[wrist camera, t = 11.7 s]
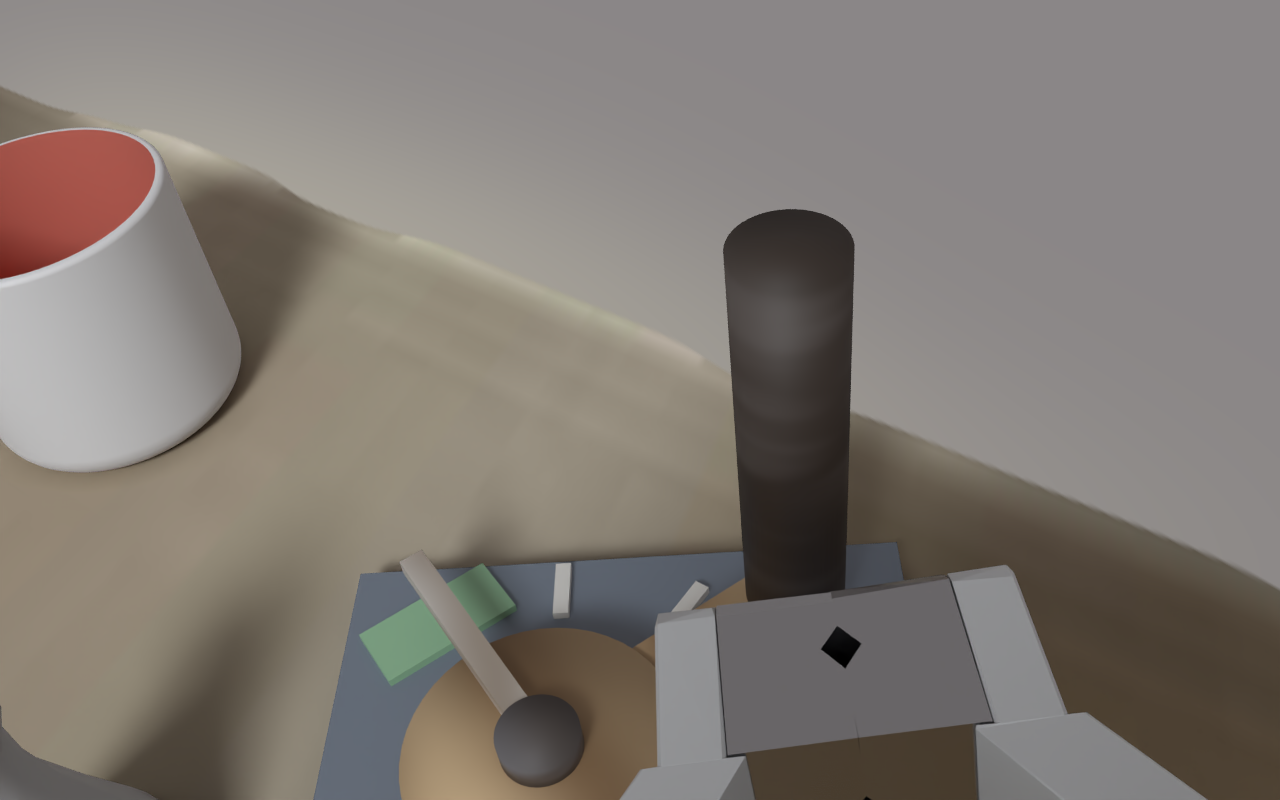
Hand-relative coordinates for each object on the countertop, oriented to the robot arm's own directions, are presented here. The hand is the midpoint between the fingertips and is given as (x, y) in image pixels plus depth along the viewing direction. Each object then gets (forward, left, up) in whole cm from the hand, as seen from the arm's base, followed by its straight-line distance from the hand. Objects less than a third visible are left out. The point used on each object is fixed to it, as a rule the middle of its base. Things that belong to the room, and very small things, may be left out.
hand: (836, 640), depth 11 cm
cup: (-26, +31, -25) cm, 47 cm away
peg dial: (-5, +15, -23) cm, 28 cm away
